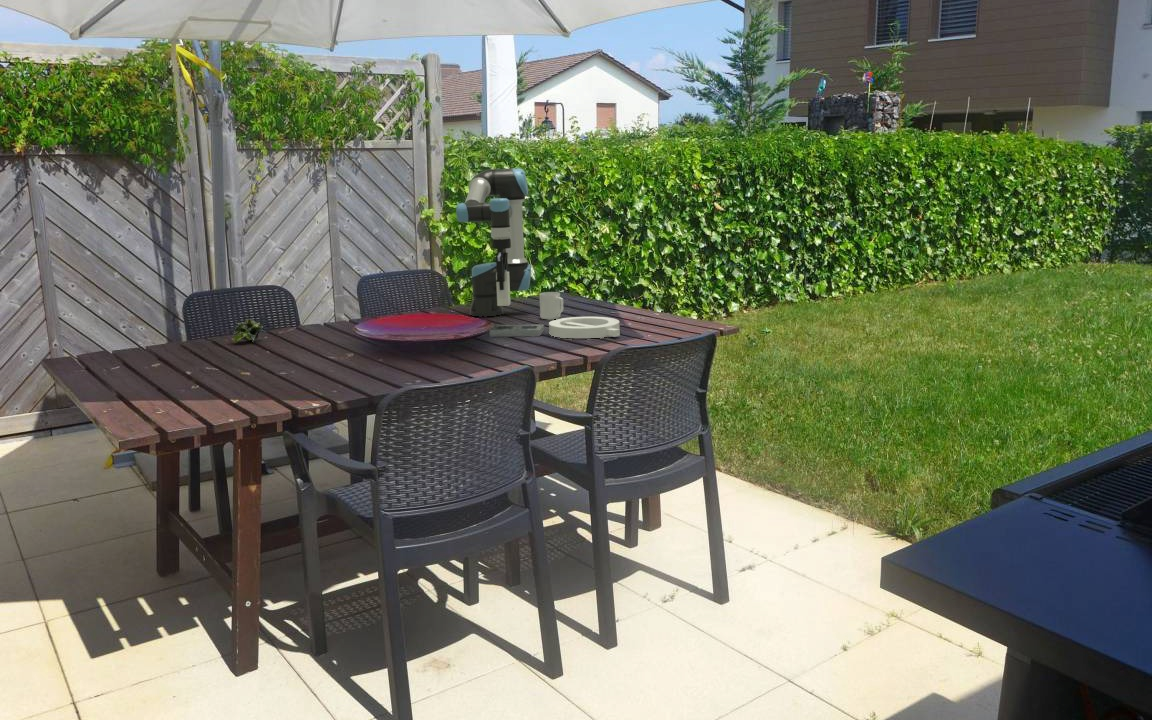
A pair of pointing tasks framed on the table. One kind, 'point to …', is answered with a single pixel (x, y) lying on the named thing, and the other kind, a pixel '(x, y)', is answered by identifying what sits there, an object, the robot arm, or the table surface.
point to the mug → (550, 305)
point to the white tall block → (506, 300)
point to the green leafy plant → (248, 330)
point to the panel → (516, 330)
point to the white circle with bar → (584, 327)
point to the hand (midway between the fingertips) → (503, 296)
